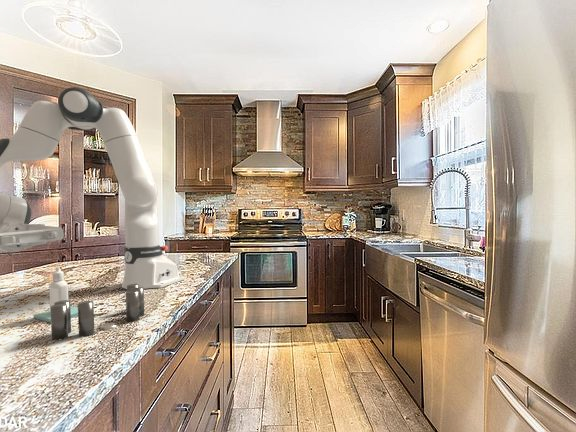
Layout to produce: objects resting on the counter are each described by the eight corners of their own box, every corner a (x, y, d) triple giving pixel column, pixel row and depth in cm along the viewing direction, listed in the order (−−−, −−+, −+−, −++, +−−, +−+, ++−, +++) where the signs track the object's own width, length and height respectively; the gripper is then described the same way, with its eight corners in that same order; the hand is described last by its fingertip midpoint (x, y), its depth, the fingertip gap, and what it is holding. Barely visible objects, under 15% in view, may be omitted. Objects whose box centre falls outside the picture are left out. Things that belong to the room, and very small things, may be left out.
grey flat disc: (107, 325, 82) (107, 322, 82) (121, 326, 81) (121, 323, 81) (96, 331, 78) (96, 327, 78) (111, 331, 78) (111, 328, 78)
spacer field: (134, 308, 94) (134, 283, 94) (158, 313, 90) (157, 286, 90) (42, 337, 74) (41, 305, 74) (67, 344, 70) (65, 311, 70)
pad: (70, 308, 96) (69, 305, 96) (89, 312, 91) (88, 309, 91) (33, 317, 88) (33, 314, 88) (52, 323, 83) (52, 319, 83)
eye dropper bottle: (47, 317, 86) (45, 269, 85) (51, 311, 90) (49, 266, 90) (68, 314, 88) (66, 268, 87) (70, 308, 93) (68, 264, 92)
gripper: (-35, 230, 93) (-11, 230, 86) (48, 223, 111) (72, 223, 104) (-32, 253, 93) (-9, 254, 86) (49, 243, 111) (74, 243, 104)
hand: (36, 237), depth 95 cm, fingers open, 8 cm apart
